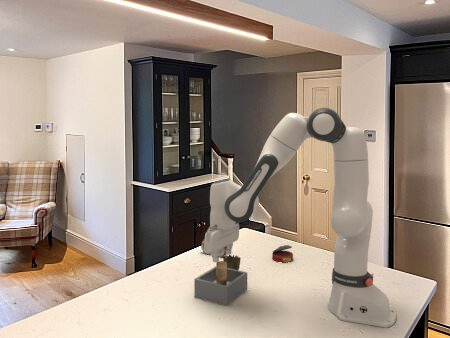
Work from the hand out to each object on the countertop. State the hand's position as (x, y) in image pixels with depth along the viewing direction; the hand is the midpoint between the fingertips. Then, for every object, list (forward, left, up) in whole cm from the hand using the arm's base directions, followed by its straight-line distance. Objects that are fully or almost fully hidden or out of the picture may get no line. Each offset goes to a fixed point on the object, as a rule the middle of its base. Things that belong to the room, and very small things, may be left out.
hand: (222, 257), depth 148 cm
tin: (+25, -35, -14) cm, 46 cm away
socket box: (0, 0, -14) cm, 14 cm away
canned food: (-6, -47, -15) cm, 50 cm away
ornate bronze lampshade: (+5, -17, -14) cm, 23 cm away
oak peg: (0, 0, -14) cm, 14 cm away
